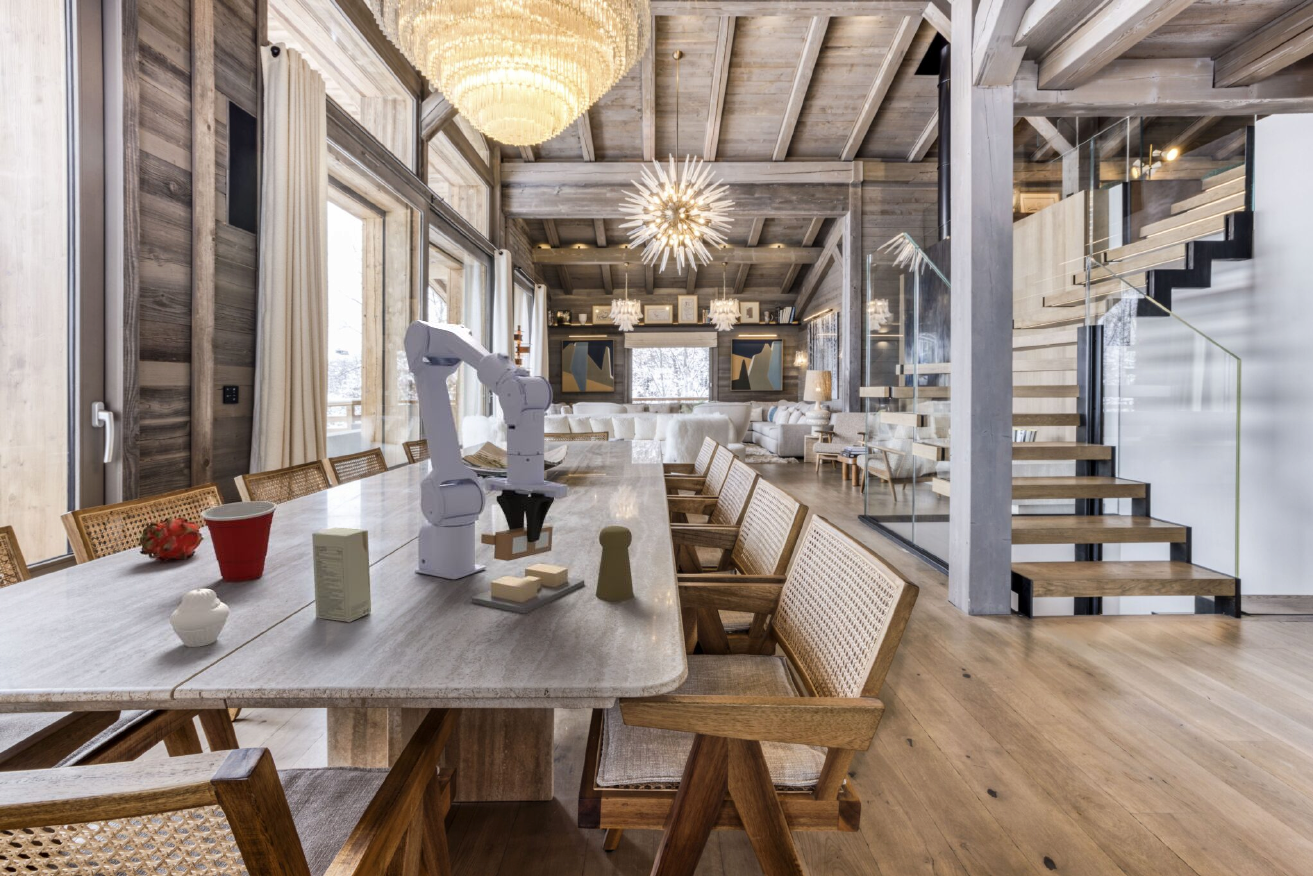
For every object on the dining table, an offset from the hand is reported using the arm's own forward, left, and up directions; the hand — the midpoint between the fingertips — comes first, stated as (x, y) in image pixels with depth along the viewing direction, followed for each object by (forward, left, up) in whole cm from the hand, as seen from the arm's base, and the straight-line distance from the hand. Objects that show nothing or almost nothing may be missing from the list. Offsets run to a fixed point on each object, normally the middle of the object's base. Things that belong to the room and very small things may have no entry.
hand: (525, 539), depth 102 cm
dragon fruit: (-69, -15, -9) cm, 71 cm away
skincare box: (-17, -20, -9) cm, 28 cm away
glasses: (-1, 0, -2) cm, 3 cm away
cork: (+12, +7, -9) cm, 17 cm away
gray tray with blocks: (0, +1, -9) cm, 9 cm away
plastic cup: (-47, -16, -9) cm, 50 cm away
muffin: (-24, -35, -9) cm, 43 cm away
